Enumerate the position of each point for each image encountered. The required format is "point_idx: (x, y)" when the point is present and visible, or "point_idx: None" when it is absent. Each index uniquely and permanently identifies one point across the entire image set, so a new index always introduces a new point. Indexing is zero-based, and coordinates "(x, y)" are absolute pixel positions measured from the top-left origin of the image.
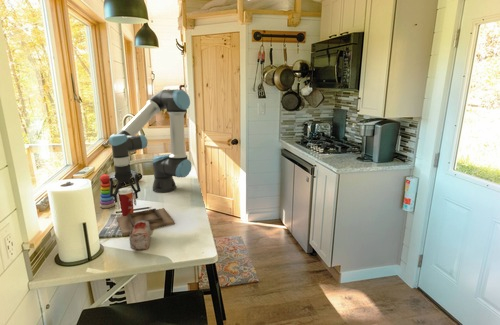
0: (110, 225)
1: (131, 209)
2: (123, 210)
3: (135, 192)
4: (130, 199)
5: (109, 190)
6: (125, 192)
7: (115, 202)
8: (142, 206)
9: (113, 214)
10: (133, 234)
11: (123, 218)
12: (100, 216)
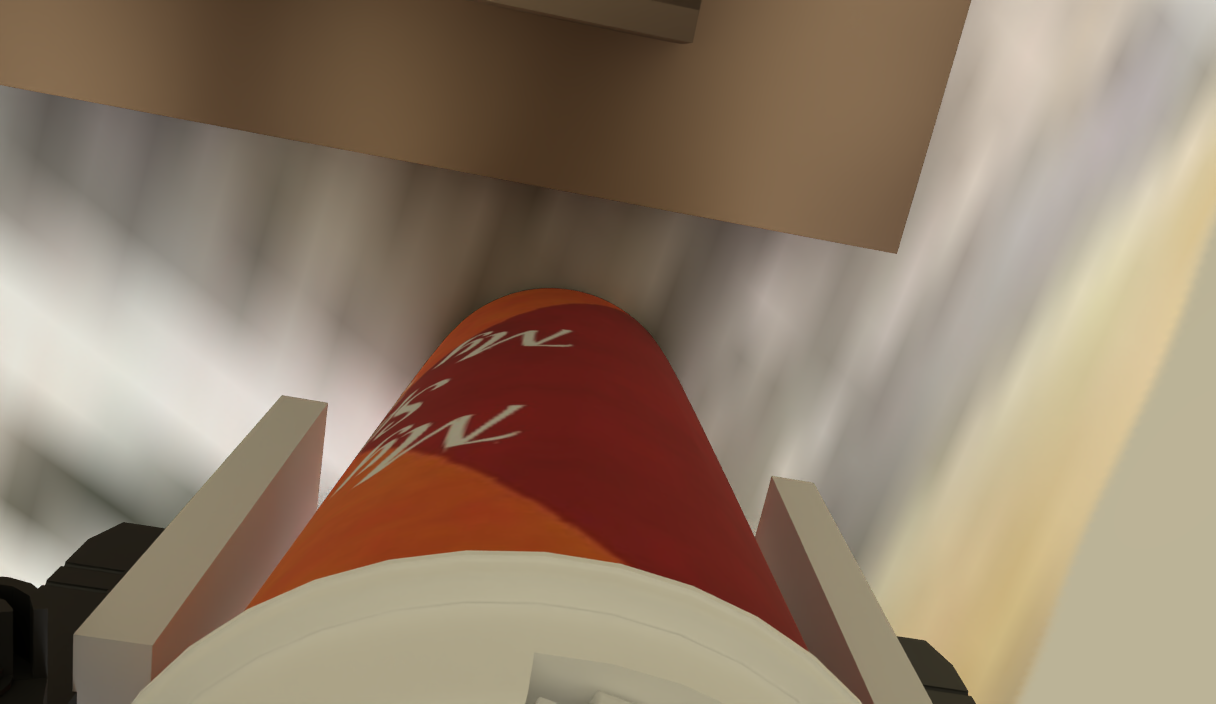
0: (1112, 38)
1: (474, 334)
2: (684, 394)
3: (9, 682)
4: (423, 446)
5: None
6: (611, 699)
7: (921, 642)
8: None
9: None
10: None
11: (799, 62)
12: (1027, 674)
